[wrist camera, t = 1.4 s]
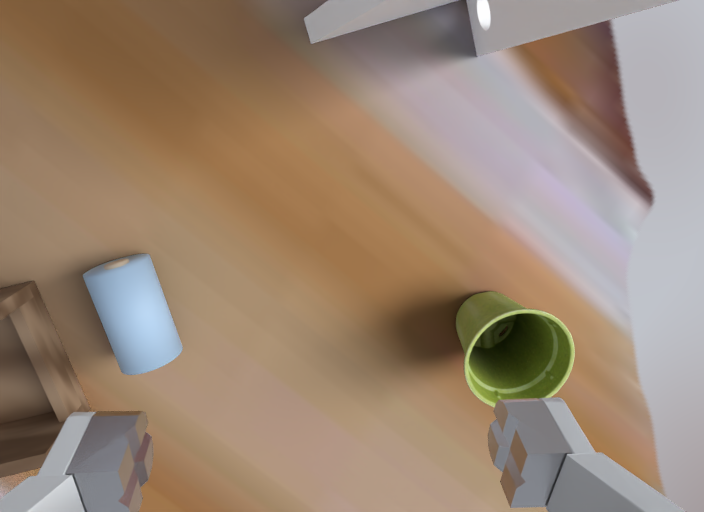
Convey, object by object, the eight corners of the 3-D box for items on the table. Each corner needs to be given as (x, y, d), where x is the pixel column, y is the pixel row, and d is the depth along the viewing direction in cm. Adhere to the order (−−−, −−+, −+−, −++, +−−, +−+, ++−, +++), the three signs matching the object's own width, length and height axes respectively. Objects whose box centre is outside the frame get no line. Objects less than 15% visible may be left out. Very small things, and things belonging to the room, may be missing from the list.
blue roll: (189, 339, 48) (174, 367, 43) (133, 352, 48) (112, 382, 43) (156, 247, 45) (137, 265, 40) (97, 260, 45) (70, 281, 40)
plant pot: (492, 376, 52) (528, 428, 44) (419, 334, 50) (443, 380, 42) (548, 304, 50) (597, 343, 42) (475, 257, 48) (511, 289, 40)
